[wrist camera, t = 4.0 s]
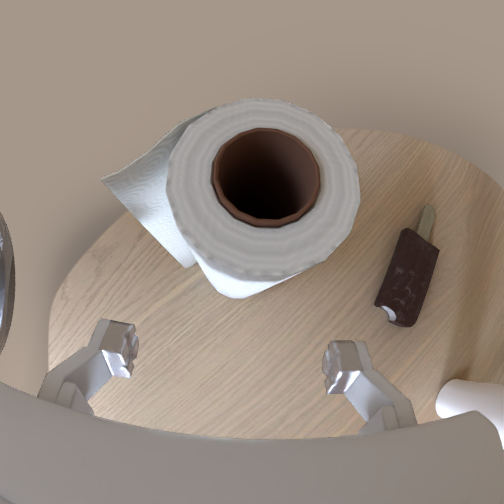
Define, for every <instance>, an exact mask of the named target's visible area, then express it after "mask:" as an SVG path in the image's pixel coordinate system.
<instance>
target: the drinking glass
mask: <svg viewBox="0 0 504 504" xmlns="http://www.w3.org/2000/svg"><path fill="white" fill-rule="evenodd" d="M472 410H476V411H479V412H480V413H481V414H483V415H484V416H485V417H486V418H487V419H489V420H490V421H491V422H492V423H493V424H494V425H495V426H496V428H497V430H498V433H499V436H500V439H501V443H502V446H503V450H504V384H502V383H486V382H474V381H465V380H461V379H453V380H450V381H448V382H447V383H446V384H445V385H444V386H443V387H442V388H441V390H440V392H439V393H438V396H437V399H436V412H437V414H438V415H439V416H440V417H441V418H443V419H444V418H447V417H451V416H455V415H458V414H462V413H465V412H468V411H472Z"/></svg>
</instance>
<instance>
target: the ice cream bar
mask: <svg viewBox="0 0 504 504" xmlns="http://www.w3.org/2000/svg"><path fill="white" fill-rule="evenodd" d="M434 216H435V210H434V208H433V207H432V206H431V205H426V206H425V207H424V208H423V211H422V214H421V218H420V221H419V225H418V228H417V232H414V231H412V230H411V229H409V228H405V229H403V230H402V231H401V234H400V237H399V240H398V243H397V246H396V249H395V252H394V254H393V257H392V260H391V263H390V265H389V268H388V271H387V273H386V276H385V279H384V281H383V284H382V286H381V289H380V291H379V294H378V296H377V299H376V301H375V303H374V304H375V306H376V307H380V308H382V309H384V310H385V311H386V312H387V313H388V315H389V322H391V323H393V324H395V325H397V326H400V327H411V326H413V325H414V324H415V323H416V321H417V318H418V316H419V313H420V310H421V308H422V305H423V302H424V299H425V296H426V293H427V290H428V287H429V284H430V281H431V278H432V275H433V271H434V268H435V265H436V261H437V258H438V254H439V251H440V250H438V249H437V248H436V247H435V246H433V245H432V244H430V243H429V242H428V239H429V235H430V232H431V228H432V224H433V220H434Z"/></svg>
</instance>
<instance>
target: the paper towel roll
mask: <svg viewBox="0 0 504 504" xmlns="http://www.w3.org/2000/svg"><path fill="white" fill-rule="evenodd" d="M101 181H102V182H103V183H104V184H105V185H106V186H107V187H108V188H109V189H110V190H111V192H112V193H113V194H114V195H115V196H116V197H117V198H118V199H119V200H120V201H121V203H122V204H123V205H124V206H125V207H126V208H127V209H128V210H129V211H130V212H131V213H132V214H133V215H134V216H135V217H136V219H137V220H138V221H139V222H140V223H141V224H142V225H143V226H144V227H145V228H146V229H147V230H148V231H149V232H150V233H151V234H152V235H153V236H154V237H155V238H156V239H157V240H158V241H159V242H160V243H161V244H162V245H163V246H164V247H165V248H166V249H167V250H168V251H169V252H170V254H171V255H172V256H173V257H174V258H175V259H176V260H177V261H178V262H180V263H181V264H182V265H183V266H184V267H185V268H187V267H190V266H192V265H194V264H195V263H196V262H198V263H199V265H200V267H201V268H202V270H203V272H204V273H205V275H206V276H207V278H208V280H209V281H210V283H211V284H212V285H213V286H214V288H215V289H216V290H217V291H218V292H219V293H221V294H223V295H225V296H227V297H230V298H246V297H249V296H251V295H254V294H256V293H259V292H261V291H263V290H265V289H267V288H269V287H272V286H274V285H276V284H278V283H280V282H282V281H285V280H287V279H289V278H291V277H293V276H295V275H297V274H299V273H302V272H304V271H306V270H308V269H310V268H312V267H314V266H316V265H318V264H320V263H322V262H324V261H325V260H326V259H327V258H328V257H329V256H330V255H331V254H332V253H333V252H334V251H335V250H336V249H337V248H338V247H339V245H340V244H341V243H342V242H343V241H344V240H345V239H346V238H347V237H348V236H349V235H350V232H351V229H352V226H353V223H354V220H355V217H356V214H357V210H358V207H359V204H360V201H361V198H360V188H359V179H358V171H357V166H356V164H355V162H354V160H353V158H352V156H351V154H350V152H349V151H348V149H347V147H346V145H345V143H344V141H343V140H342V138H341V136H340V135H338V134H337V133H336V132H335V131H334V130H333V129H332V128H331V127H330V126H329V125H327V124H326V123H325V122H324V121H323V120H322V119H321V118H319V117H318V116H317V115H316V114H314V113H312V112H310V111H308V110H305V109H303V108H301V107H298V106H296V105H293V104H291V103H289V102H286V101H284V100H273V99H261V98H246V99H243V100H239V101H235V102H232V103H229V104H225V105H222V106H219V107H215V108H213V109H210V110H208V111H205V112H203V113H200V114H198V115H195V116H193V117H190V118H188V119H185V120H183V121H181V122H179V123H178V124H177V125H176V126H174V127H173V128H172V129H171V130H170V131H169V132H168V133H166V134H165V136H163V137H162V138H161V139H160V140H159V141H158V142H157V143H155V144H154V145H153V146H152V147H151V148H150V149H149V150H148V151H147V152H146V153H145V154H143V155H141V156H140V157H138V158H137V159H135V160H134V161H133V162H131V163H130V164H128V165H127V166H125V167H124V168H122V169H121V170H119V171H117V172H114V173H112V174H109V175H107V176H105V177H102V178H101Z"/></svg>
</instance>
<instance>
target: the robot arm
mask: <svg viewBox="0 0 504 504" xmlns="http://www.w3.org/2000/svg"><path fill="white" fill-rule="evenodd" d="M135 331H136V328H135V325H134V324H129V323H123V322H118V321H113V320H107V319H102V318H101V319H100V320H99V321H98V323H97V326H96V328H95V330H94V332H93V335H92V337H91V339H90V342H89V344H88V346H87V347H83V348H82V349H80V350H79V351H77V352H76V353H75V354H73V355H72V356H70V357H69V358H68V359H66V360H65V361H63V362H62V363H61V364H59V365H58V366H57V367H55V368H54V369H52V370H51V371H50V372H48V373H47V374H46V376H45V379H44V381H43V383H42V386H41V388H40V391H39V393H38V395H37V397H35V396H33V395H30V394H28V393H25V392H23V391H20V390H18V389H15V388H13V387H11V386H9V385H6V384H4V383H2V382H0V504H504V450H503V446H502V443H501V439H500V436H499V433H498V430H497V428H496V426H495V425H494V424H493V423H492V422H491V421H490V420H489V419H487V418H486V417H485V416H484V415H483V414H481V413H480V412H479V411H476V410H472V411H468V412H465V413H462V414H458V415H455V416H451V417H447V418H444V419H440V420H436V421H432V422H427V423H423V424H417V420H416V417H415V414H414V411H413V407H412V404H411V401H410V400H409V399H407V398H406V397H405V396H404V395H403V394H402V393H401V392H400V391H399V390H398V389H397V388H396V387H395V386H394V385H392V384H391V383H390V382H389V381H388V380H387V379H386V378H385V377H384V376H383V375H382V374H381V373H380V372H379V371H377V370H374V368H373V365H372V361H371V358H370V355H369V352H368V349H367V346H366V343H365V341H352V340H335V341H330V342H329V345H328V349H329V350H328V351H326V352H325V353H324V355H323V359H322V371H323V373H324V374H325V375H326V376H327V377H326V379H325V381H324V382H325V388H326V393H327V394H343V393H345V394H344V395H345V396H346V397H347V398H348V400H349V401H350V402H351V403H352V405H353V406H354V407H355V408H356V410H357V411H358V412H359V413H360V415H361V416H362V417H363V418H364V420H365V421H366V422H367V423H366V424H365V425H364V426H363V427H362V428H361V429H360V430H359V431H358V434H359V435H350V436H340V437H328V438H312V439H239V438H223V437H211V436H201V435H192V434H184V433H177V432H170V431H163V430H157V429H152V428H146V427H141V426H136V425H131V424H126V423H122V422H118V421H113V420H109V419H105V418H101V417H97V416H94V411H93V410H92V408H91V407H90V405H89V404H88V402H87V401H88V400H89V399H90V398H91V397H92V396H93V395H94V394H95V393H96V392H97V391H98V390H99V389H100V388H101V387H102V386H103V385H104V384H105V383H106V382H107V381H108V380H109V379H110V378H111V377H112V376H118V377H124V378H131V375H132V371H133V368H134V364H133V360H134V359H135V358H137V354H138V348H139V341H138V337H137V336H136V335H135Z"/></svg>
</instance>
